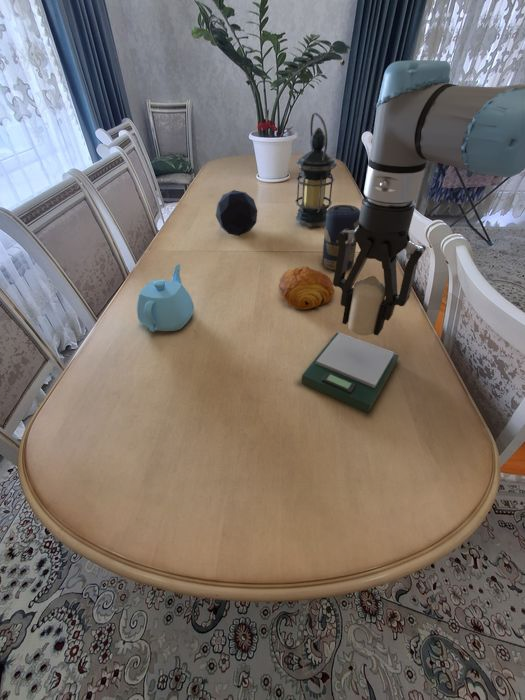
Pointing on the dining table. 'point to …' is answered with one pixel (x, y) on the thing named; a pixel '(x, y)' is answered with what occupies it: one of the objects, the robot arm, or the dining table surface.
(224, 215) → the decorative orb
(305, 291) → the croissant
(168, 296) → the teapot
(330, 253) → the canister
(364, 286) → the candle
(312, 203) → the lantern
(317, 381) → the scale
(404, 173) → the robot arm
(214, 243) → the dining table surface
